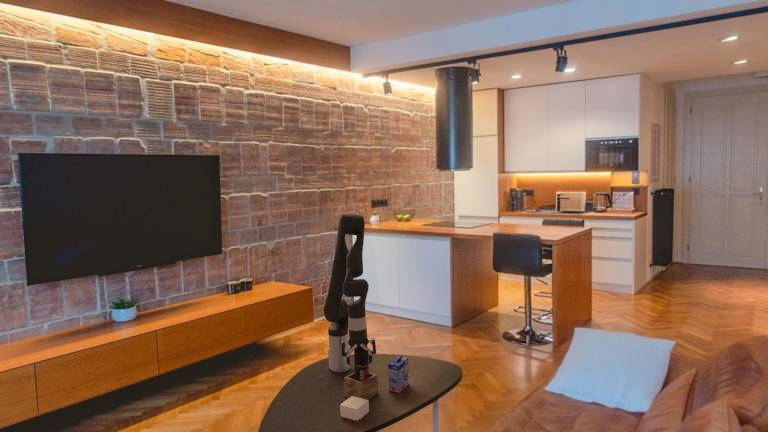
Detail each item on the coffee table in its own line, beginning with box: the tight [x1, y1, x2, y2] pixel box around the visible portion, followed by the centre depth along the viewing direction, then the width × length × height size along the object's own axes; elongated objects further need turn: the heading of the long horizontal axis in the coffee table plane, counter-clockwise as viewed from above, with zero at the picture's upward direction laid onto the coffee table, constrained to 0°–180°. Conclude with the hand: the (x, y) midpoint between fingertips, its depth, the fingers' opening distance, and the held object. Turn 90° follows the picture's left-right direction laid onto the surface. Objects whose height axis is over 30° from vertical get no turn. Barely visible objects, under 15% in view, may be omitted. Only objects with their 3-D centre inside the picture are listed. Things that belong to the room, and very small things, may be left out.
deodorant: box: [353, 350, 370, 382], centre depth 221 cm, size 6×6×15 cm
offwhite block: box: [339, 396, 370, 422], centre depth 207 cm, size 8×8×5 cm
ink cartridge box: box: [387, 354, 409, 394], centre depth 227 cm, size 10×6×14 cm, turn 152°
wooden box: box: [343, 371, 380, 400], centre depth 222 cm, size 10×10×8 cm
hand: (359, 364), depth 221 cm, fingers open, 8 cm apart
